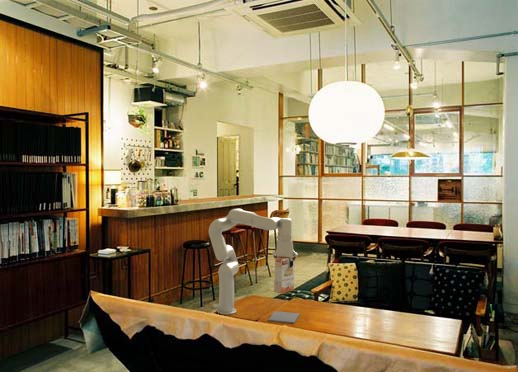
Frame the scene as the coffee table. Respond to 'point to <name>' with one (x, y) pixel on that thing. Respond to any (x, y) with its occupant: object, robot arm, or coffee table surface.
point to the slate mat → (284, 317)
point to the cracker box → (283, 275)
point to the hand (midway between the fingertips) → (284, 266)
